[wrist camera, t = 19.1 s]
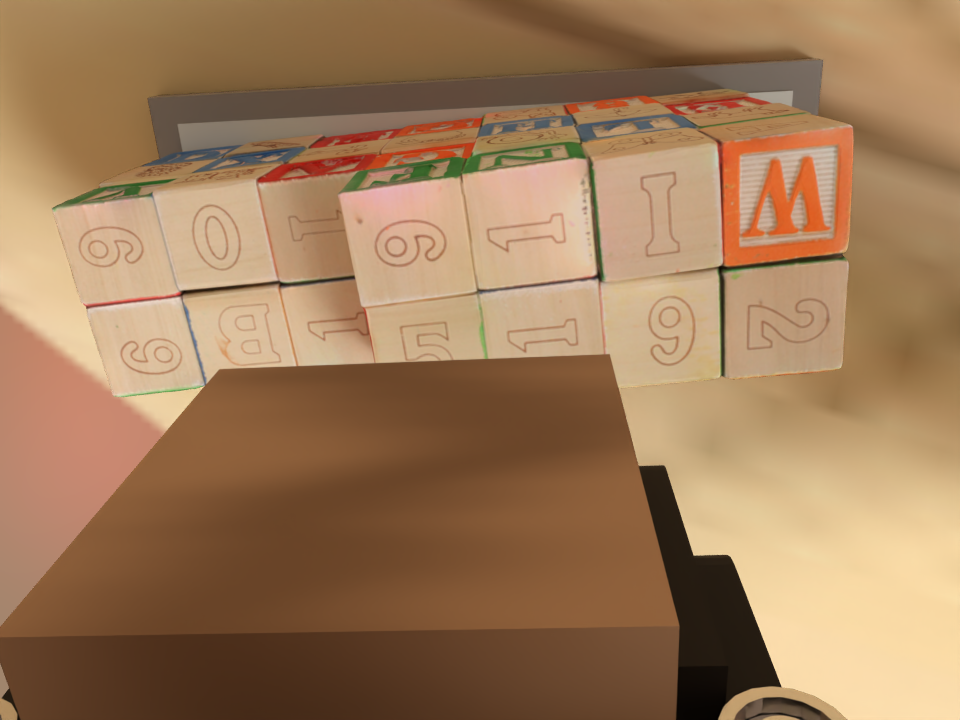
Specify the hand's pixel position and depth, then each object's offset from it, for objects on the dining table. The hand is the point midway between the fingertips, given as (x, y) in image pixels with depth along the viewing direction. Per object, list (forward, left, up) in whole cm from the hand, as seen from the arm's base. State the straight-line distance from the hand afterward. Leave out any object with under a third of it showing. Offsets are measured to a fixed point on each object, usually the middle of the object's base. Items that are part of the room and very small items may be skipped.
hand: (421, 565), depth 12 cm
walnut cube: (0, 0, -1) cm, 1 cm away
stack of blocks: (+1, -1, -22) cm, 23 cm away
